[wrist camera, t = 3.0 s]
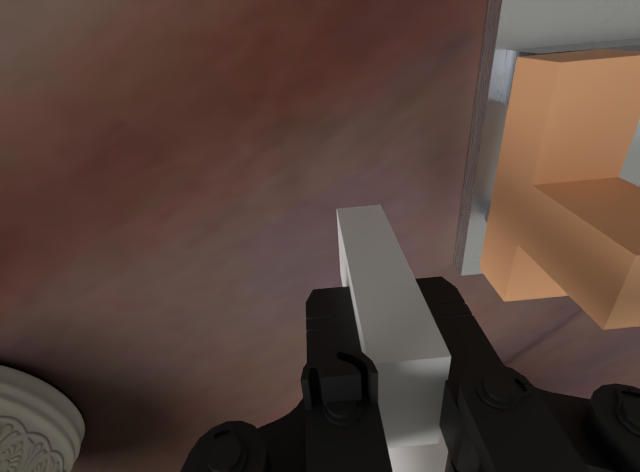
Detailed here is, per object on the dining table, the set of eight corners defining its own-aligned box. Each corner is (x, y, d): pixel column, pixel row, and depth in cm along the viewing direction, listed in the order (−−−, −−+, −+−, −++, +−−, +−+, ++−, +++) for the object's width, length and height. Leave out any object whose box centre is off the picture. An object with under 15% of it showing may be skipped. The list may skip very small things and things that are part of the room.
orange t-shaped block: (487, 53, 14) (712, 82, 7) (562, 46, 14) (875, 67, 7) (460, 243, 19) (574, 395, 11) (517, 238, 19) (670, 386, 11)
